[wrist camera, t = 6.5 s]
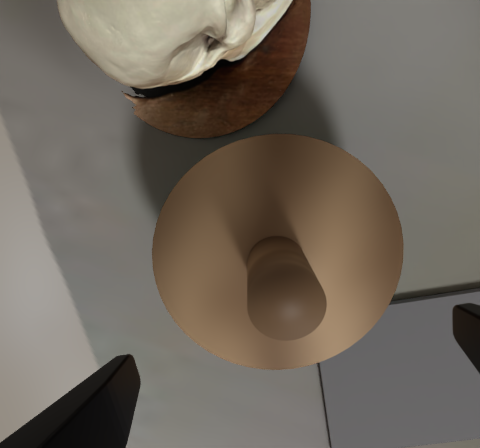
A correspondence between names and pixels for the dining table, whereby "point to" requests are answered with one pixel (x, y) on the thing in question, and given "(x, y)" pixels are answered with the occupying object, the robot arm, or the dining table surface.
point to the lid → (277, 251)
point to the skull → (194, 56)
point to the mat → (404, 380)
